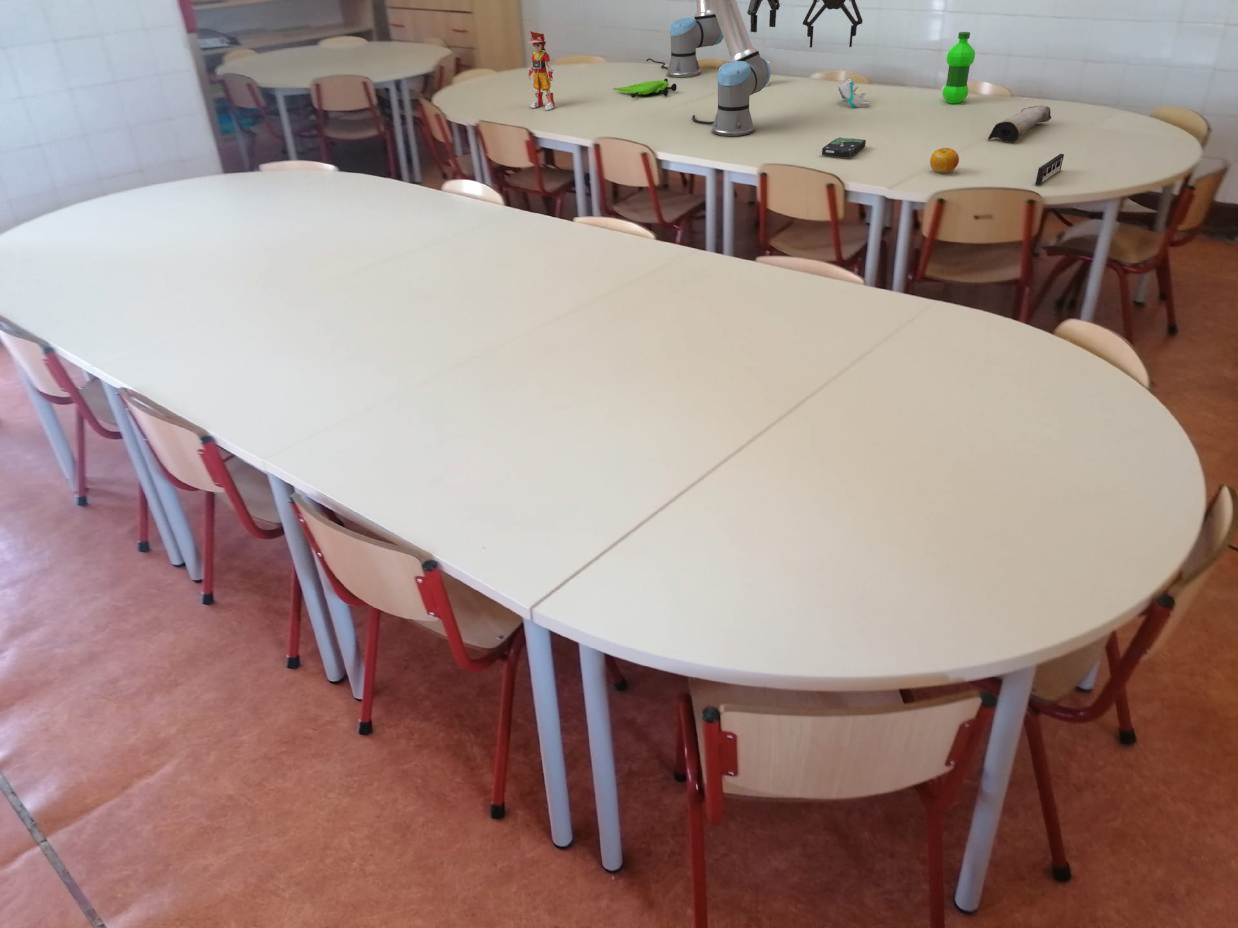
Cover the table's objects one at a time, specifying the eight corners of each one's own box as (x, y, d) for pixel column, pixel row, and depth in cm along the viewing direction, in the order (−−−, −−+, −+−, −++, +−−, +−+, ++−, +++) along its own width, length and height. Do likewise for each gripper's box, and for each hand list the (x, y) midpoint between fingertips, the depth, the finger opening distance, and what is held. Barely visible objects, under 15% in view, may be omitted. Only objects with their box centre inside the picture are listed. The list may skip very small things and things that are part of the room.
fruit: (924, 163, 281) (941, 140, 278) (925, 165, 289) (941, 143, 286) (946, 178, 280) (963, 155, 277) (947, 180, 288) (963, 158, 285)
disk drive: (850, 159, 300) (865, 147, 310) (851, 151, 299) (866, 139, 309) (821, 156, 305) (836, 144, 315) (821, 148, 303) (837, 136, 313)
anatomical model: (833, 78, 362) (858, 71, 361) (836, 104, 368) (860, 97, 367) (844, 86, 350) (869, 79, 349) (846, 113, 356) (871, 106, 355)
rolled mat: (1018, 110, 327) (1042, 93, 319) (1032, 131, 328) (1056, 115, 319) (983, 133, 310) (1008, 115, 302) (998, 155, 310) (1023, 138, 302)
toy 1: (525, 109, 381) (517, 32, 364) (534, 104, 388) (527, 28, 371) (550, 110, 377) (543, 32, 360) (559, 105, 384) (553, 28, 367)
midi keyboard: (1039, 185, 269) (1043, 168, 266) (1035, 184, 270) (1038, 168, 267) (1060, 170, 279) (1064, 154, 277) (1056, 169, 280) (1060, 153, 277)
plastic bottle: (973, 101, 354) (984, 32, 339) (955, 106, 349) (966, 36, 335) (952, 97, 361) (962, 29, 346) (934, 102, 356) (944, 33, 342)
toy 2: (686, 85, 398) (631, 84, 414) (685, 72, 395) (629, 72, 411) (651, 104, 381) (596, 103, 397) (650, 92, 378) (594, 91, 394)
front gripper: (874, -24, 303) (867, 44, 315) (799, -22, 308) (795, 45, 321) (873, -21, 297) (867, 48, 309) (797, -19, 303) (793, 49, 315)
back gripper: (754, -22, 363) (752, 35, 375) (789, -30, 377) (787, 25, 389) (739, -23, 367) (738, 33, 379) (775, -31, 381) (772, 24, 394)
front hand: (830, 47), depth 315 cm, fingers open, 13 cm apart
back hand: (763, 29), depth 384 cm, fingers open, 13 cm apart
